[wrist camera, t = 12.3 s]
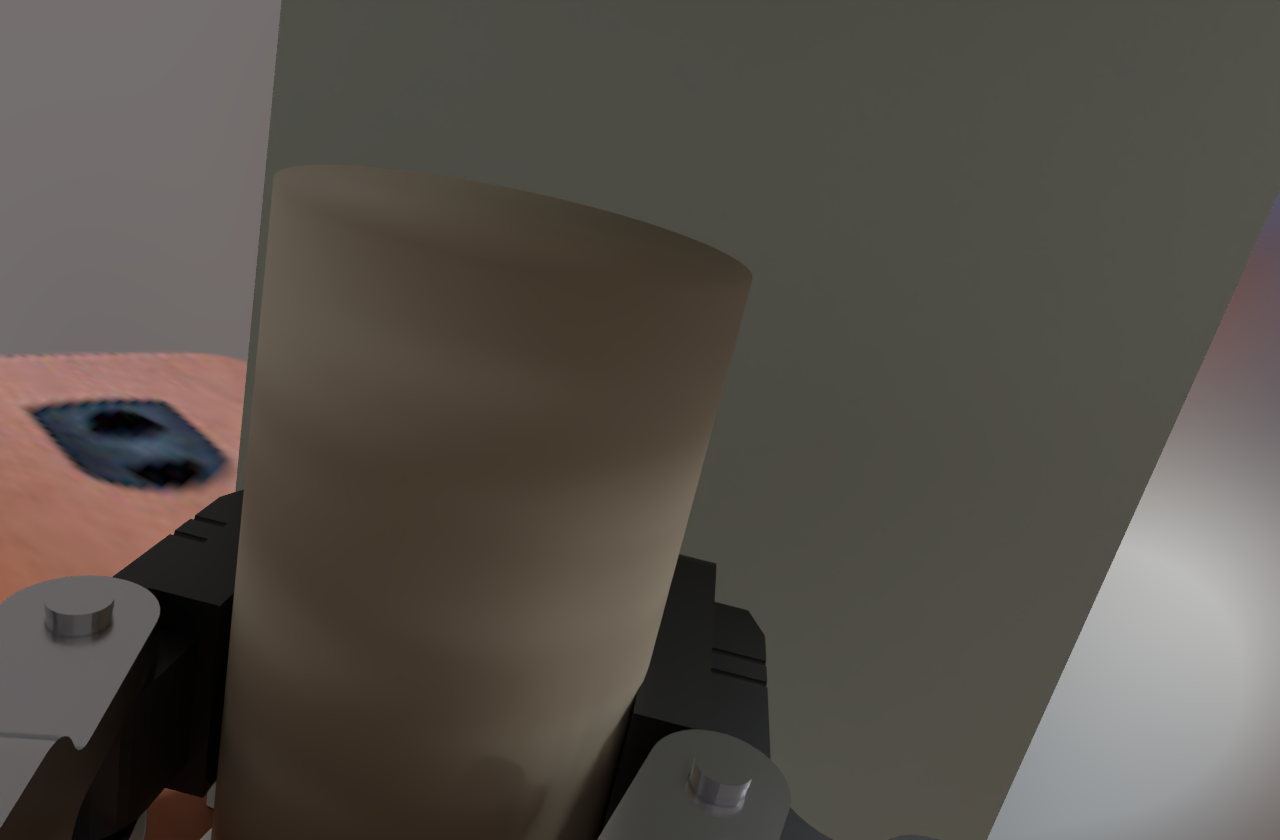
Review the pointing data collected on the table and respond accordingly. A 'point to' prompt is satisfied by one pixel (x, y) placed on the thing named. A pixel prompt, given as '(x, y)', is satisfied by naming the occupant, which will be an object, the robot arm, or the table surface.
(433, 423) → the birch peg
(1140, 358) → the c-shaped stand frame
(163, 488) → the table surface
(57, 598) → the robot arm
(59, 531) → the table surface
